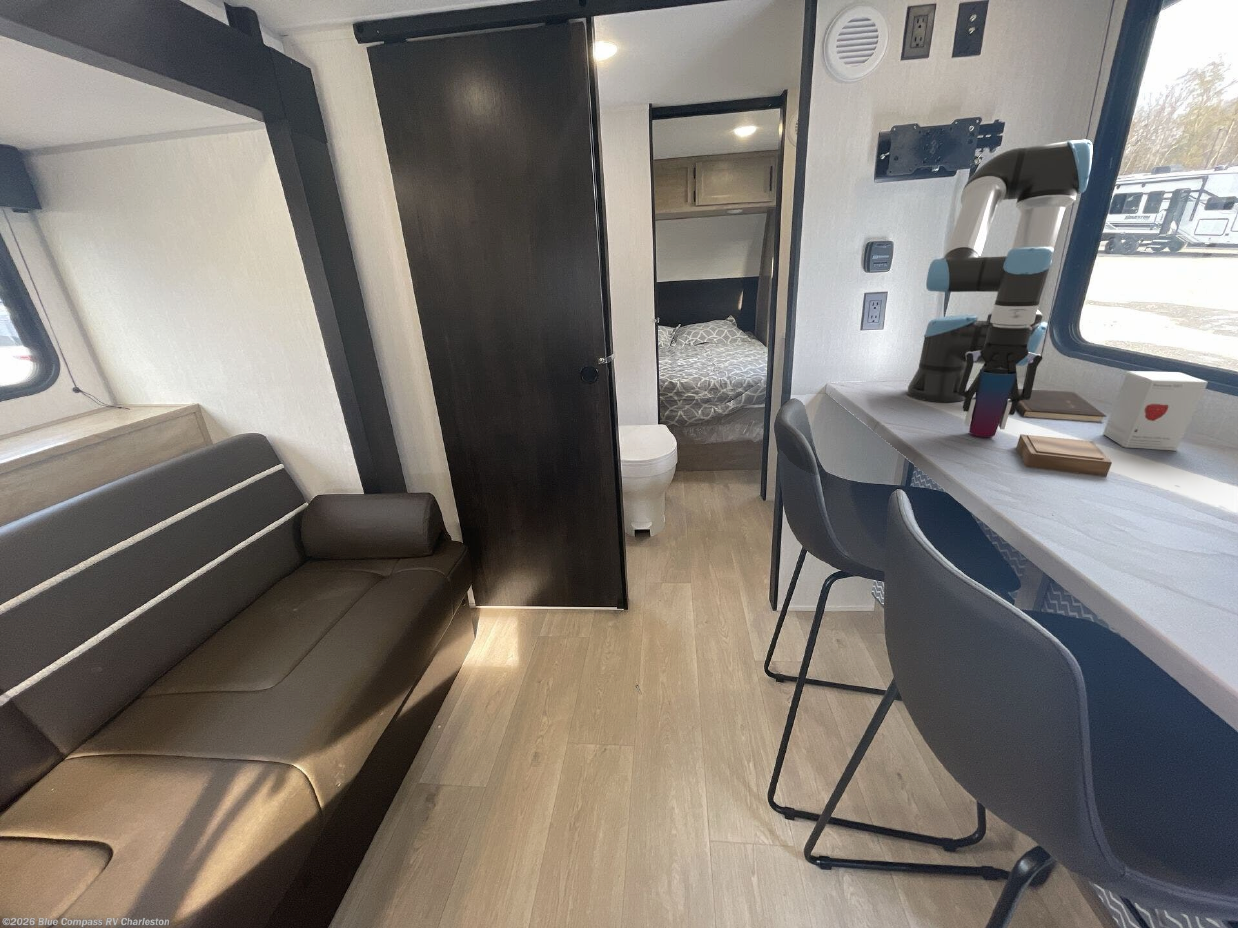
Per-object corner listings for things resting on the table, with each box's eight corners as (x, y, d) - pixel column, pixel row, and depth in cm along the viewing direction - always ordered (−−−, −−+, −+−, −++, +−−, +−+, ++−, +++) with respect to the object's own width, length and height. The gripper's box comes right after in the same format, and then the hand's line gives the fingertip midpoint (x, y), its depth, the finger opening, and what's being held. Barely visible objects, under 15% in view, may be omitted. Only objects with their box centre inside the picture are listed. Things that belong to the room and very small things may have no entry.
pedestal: (1016, 446, 106) (1020, 433, 105) (1087, 454, 101) (1093, 439, 99) (1026, 466, 97) (1031, 452, 95) (1106, 476, 91) (1112, 460, 90)
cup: (1005, 438, 109) (1024, 374, 103) (972, 438, 111) (988, 374, 105) (991, 428, 115) (1007, 367, 109) (959, 428, 117) (974, 367, 111)
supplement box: (1123, 448, 103) (1150, 379, 97) (1101, 434, 110) (1125, 370, 104) (1179, 451, 100) (1210, 381, 94) (1152, 437, 107) (1180, 371, 101)
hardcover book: (1071, 399, 136) (1073, 391, 135) (1103, 424, 117) (1106, 415, 116) (1002, 395, 143) (1004, 388, 142) (1022, 418, 124) (1024, 410, 123)
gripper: (959, 327, 104) (937, 426, 114) (1073, 328, 95) (1038, 436, 105) (956, 322, 110) (935, 416, 120) (1063, 323, 101) (1031, 425, 111)
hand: (983, 425), depth 112 cm, fingers closed on cup, 6 cm apart
